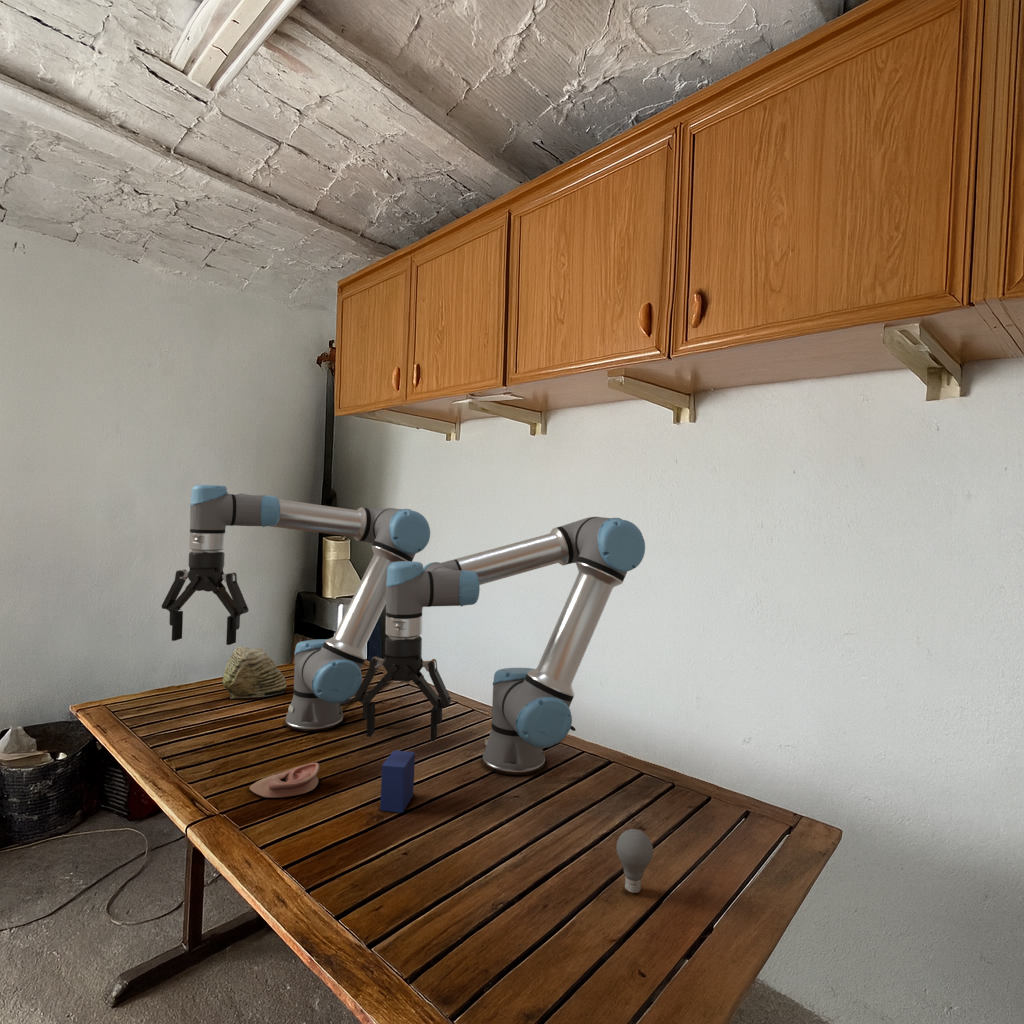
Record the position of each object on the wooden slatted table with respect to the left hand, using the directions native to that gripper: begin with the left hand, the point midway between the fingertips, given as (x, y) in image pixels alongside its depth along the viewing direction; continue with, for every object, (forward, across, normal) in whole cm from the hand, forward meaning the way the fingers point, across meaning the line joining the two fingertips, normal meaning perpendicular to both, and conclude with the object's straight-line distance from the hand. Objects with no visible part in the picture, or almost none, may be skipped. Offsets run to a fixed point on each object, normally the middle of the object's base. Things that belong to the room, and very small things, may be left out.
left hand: (203, 641), depth 148 cm
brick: (+28, +51, -10) cm, 59 cm away
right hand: (+14, +51, -9) cm, 54 cm away
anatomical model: (+28, +25, -8) cm, 39 cm away
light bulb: (+28, +98, -31) cm, 107 cm away
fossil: (+28, -13, +48) cm, 58 cm away
